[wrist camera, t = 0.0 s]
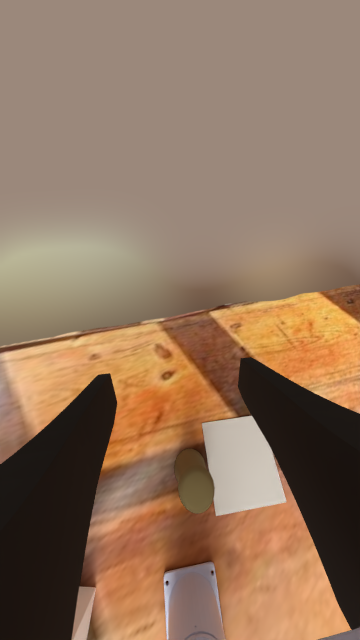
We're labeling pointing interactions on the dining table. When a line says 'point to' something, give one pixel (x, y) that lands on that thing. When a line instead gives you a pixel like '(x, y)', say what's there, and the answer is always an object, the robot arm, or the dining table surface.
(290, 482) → the robot arm
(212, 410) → the dining table surface
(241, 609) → the dining table surface
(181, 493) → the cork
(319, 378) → the dining table surface
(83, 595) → the milk
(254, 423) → the mat
